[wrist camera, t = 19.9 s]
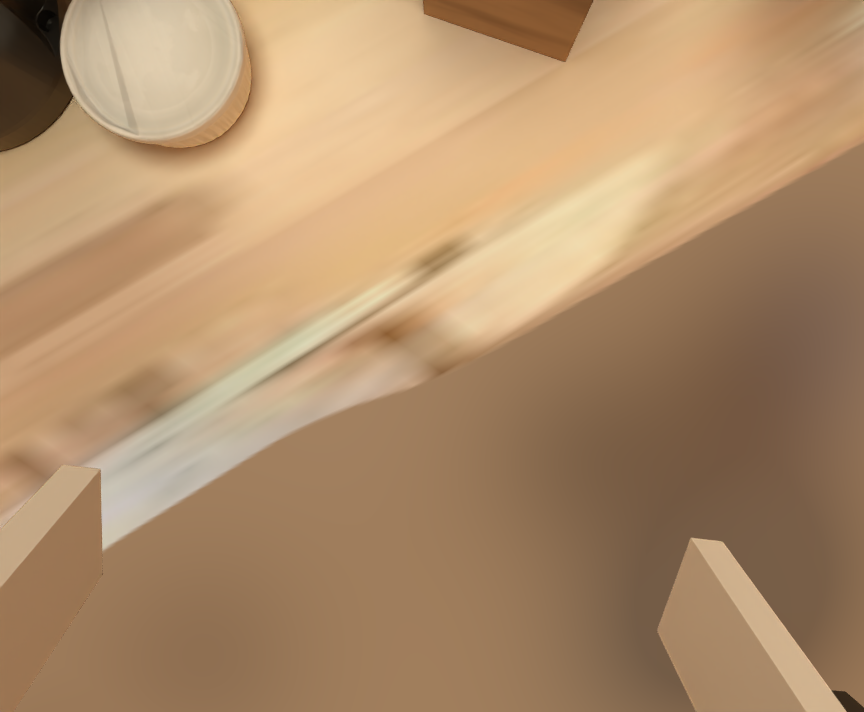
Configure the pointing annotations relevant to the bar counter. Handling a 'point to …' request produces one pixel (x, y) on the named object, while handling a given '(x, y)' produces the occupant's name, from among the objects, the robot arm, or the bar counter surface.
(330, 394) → the bar counter surface
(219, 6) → the ramekin
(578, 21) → the tall post
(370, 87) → the bar counter surface
